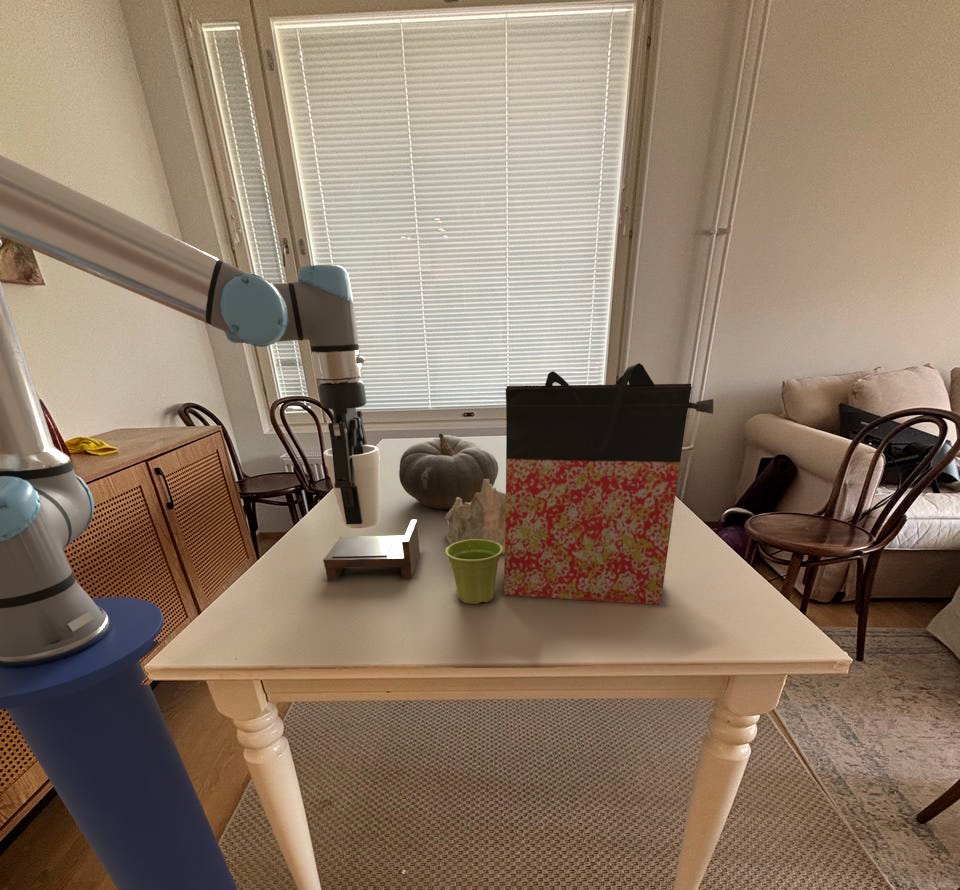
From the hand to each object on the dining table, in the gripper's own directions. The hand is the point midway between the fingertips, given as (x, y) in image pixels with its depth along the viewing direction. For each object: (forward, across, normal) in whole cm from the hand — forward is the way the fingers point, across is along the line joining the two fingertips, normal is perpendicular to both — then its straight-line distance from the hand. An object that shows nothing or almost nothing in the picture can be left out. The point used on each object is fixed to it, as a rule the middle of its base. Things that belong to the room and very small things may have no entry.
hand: (360, 514), depth 99 cm
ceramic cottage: (+11, +12, -23) cm, 28 cm away
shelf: (+10, 0, -1) cm, 10 cm away
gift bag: (+11, -12, -41) cm, 44 cm away
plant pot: (+11, -14, -21) cm, 28 cm away
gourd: (+11, +42, -13) cm, 45 cm away
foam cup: (+2, 0, 0) cm, 2 cm away
